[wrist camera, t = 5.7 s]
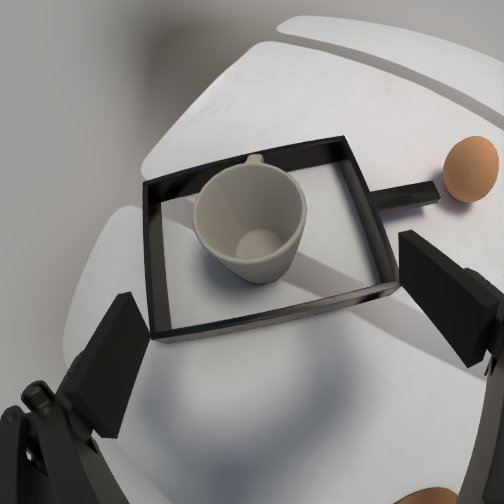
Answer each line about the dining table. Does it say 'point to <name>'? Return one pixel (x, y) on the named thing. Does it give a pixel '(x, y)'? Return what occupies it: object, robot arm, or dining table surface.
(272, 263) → the cup
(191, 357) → the dining table surface
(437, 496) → the coaster
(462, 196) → the egg
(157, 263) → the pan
